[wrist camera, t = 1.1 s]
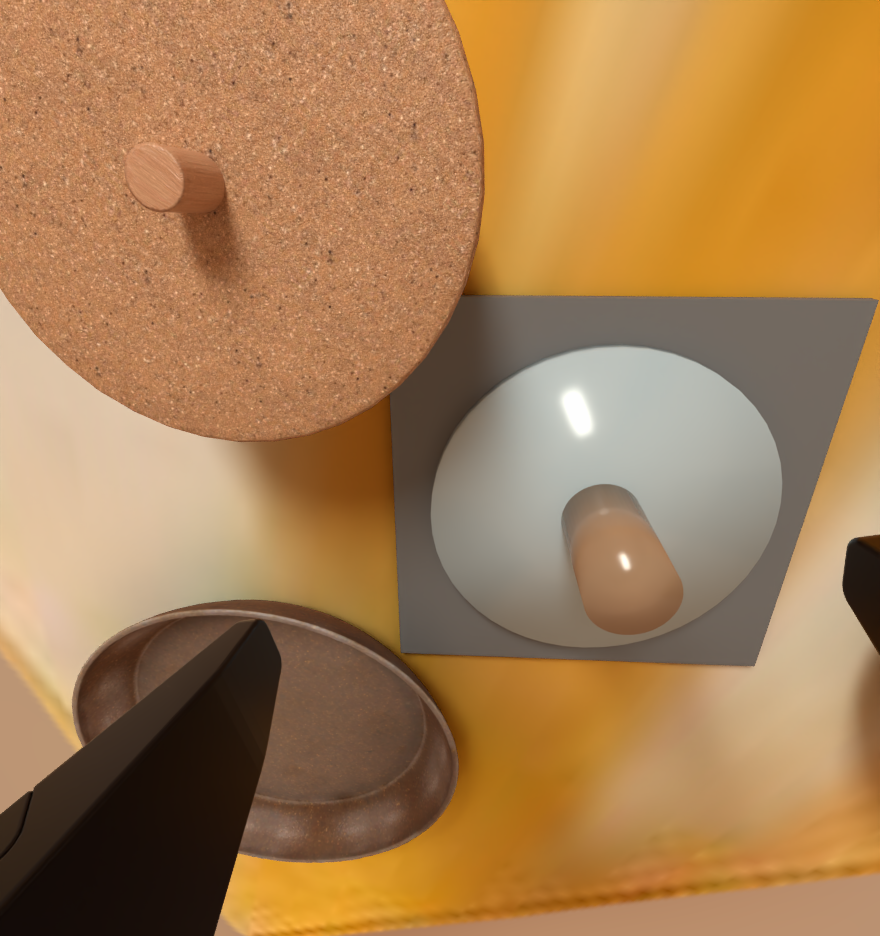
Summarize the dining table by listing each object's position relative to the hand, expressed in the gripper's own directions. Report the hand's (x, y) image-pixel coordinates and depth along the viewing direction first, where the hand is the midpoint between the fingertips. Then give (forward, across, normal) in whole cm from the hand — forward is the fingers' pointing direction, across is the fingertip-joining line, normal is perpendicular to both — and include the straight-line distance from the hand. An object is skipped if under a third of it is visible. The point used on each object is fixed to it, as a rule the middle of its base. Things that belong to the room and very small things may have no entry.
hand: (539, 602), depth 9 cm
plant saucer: (+13, +13, +15) cm, 24 cm away
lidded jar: (+13, +5, -7) cm, 15 cm away
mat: (+13, -3, +6) cm, 14 cm away
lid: (+12, -3, +6) cm, 14 cm away
